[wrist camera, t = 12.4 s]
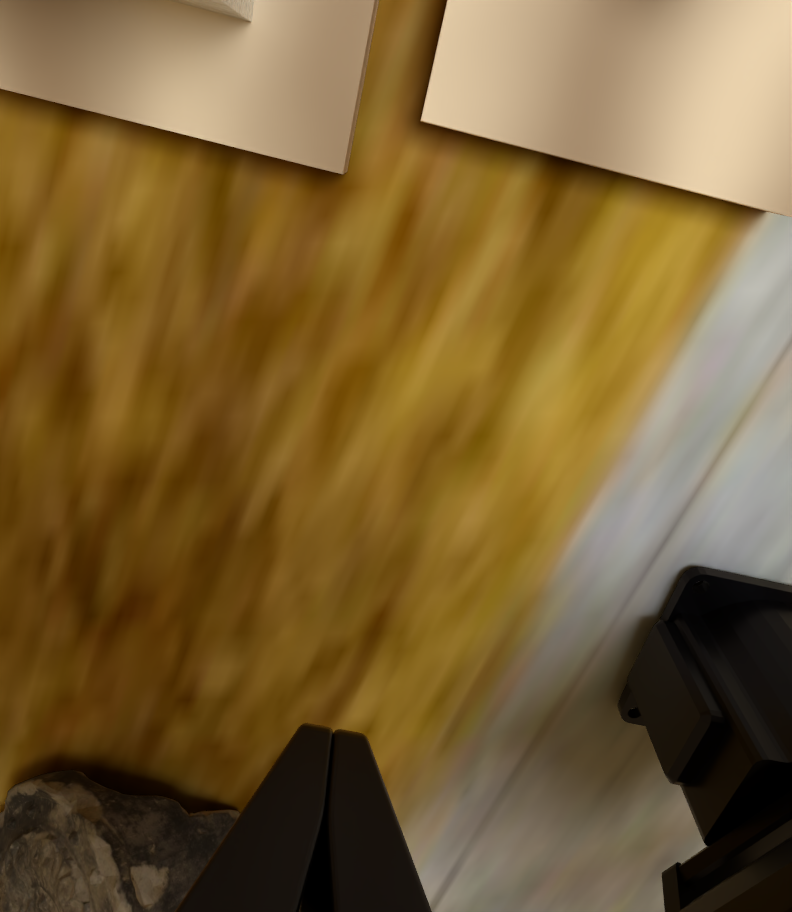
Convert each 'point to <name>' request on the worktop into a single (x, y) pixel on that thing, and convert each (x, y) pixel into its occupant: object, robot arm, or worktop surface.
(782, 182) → the stand
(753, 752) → the robot arm
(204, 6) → the collar
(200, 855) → the carved stone fragment
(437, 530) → the worktop surface
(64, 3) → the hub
